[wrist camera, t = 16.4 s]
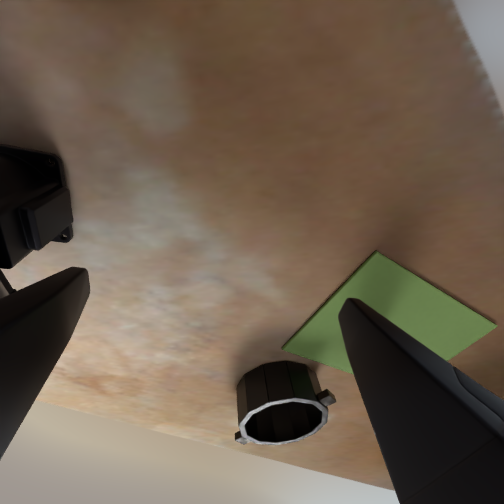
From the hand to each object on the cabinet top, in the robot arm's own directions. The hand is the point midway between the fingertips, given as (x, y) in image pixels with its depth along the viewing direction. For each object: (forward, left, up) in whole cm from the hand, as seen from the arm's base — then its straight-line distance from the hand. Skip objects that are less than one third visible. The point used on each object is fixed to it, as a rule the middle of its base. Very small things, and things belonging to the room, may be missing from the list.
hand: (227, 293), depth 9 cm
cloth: (+22, -14, -12) cm, 29 cm away
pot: (+11, -25, -12) cm, 30 cm away
